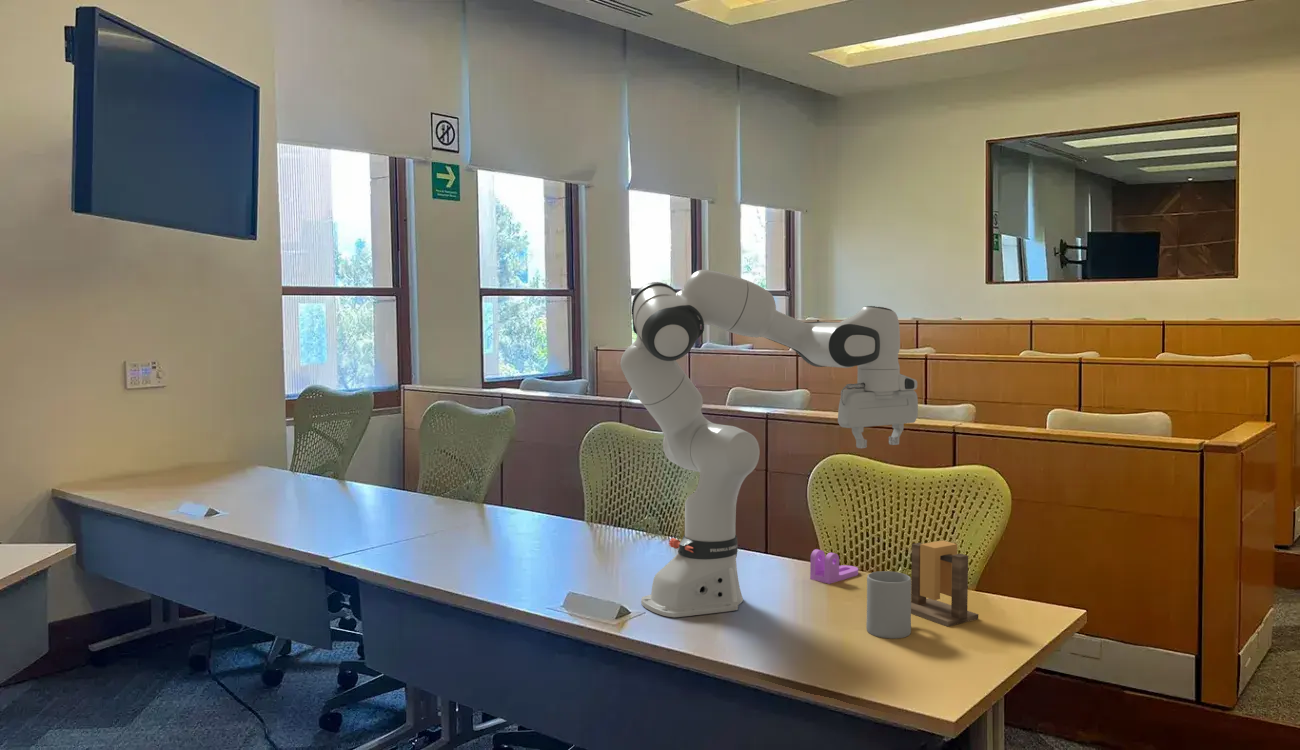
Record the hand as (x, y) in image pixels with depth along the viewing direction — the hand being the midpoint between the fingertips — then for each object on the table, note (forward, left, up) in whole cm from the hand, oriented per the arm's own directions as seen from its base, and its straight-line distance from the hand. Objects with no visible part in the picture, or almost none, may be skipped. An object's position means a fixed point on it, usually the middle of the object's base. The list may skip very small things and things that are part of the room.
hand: (877, 446), depth 203 cm
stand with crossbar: (+5, -13, -34) cm, 37 cm away
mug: (-10, -15, -34) cm, 39 cm away
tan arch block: (+5, -13, -30) cm, 33 cm away
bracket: (+6, +20, -34) cm, 40 cm away
